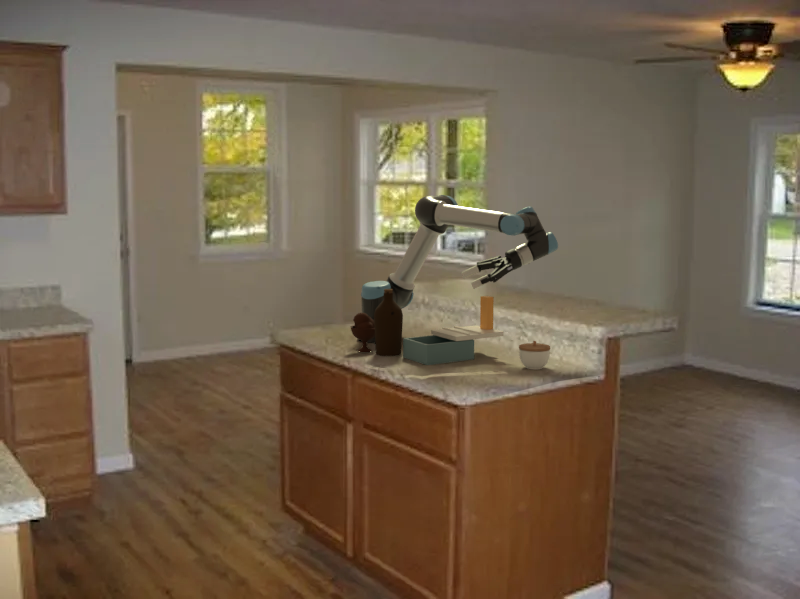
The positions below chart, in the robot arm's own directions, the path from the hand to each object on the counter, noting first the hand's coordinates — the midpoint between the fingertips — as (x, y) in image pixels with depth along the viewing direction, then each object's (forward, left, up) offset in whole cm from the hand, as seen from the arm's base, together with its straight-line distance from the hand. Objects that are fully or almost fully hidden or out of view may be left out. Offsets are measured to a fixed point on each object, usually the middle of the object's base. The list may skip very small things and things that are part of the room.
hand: (467, 280), depth 336 cm
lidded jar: (+36, +4, -27) cm, 45 cm away
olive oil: (-8, -29, -27) cm, 41 cm away
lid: (+9, -6, -19) cm, 22 cm away
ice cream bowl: (-21, -32, -27) cm, 47 cm away
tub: (+9, -18, -27) cm, 34 cm away
